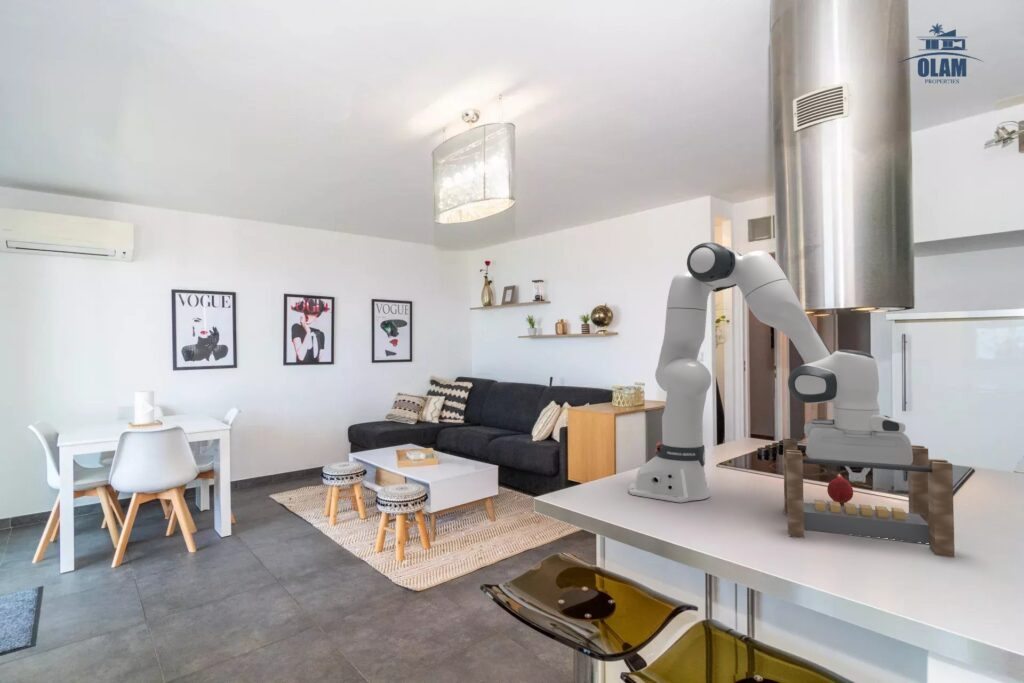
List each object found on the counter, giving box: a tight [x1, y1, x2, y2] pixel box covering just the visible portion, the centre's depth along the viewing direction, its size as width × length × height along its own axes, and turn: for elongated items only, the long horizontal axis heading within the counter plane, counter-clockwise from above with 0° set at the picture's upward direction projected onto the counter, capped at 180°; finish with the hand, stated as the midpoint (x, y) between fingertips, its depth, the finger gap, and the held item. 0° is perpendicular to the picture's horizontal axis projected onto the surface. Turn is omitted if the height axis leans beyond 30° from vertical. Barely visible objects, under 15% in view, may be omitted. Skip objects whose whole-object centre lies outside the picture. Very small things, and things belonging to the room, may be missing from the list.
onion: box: [826, 473, 854, 506], centre depth 136 cm, size 6×6×8 cm
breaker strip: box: [804, 499, 930, 545], centre depth 118 cm, size 24×8×6 cm, turn 65°
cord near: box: [803, 457, 932, 473], centre depth 110 cm, size 28×1×1 cm, turn 65°
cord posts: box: [782, 437, 955, 558], centre depth 118 cm, size 29×20×18 cm
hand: (857, 481), depth 118 cm, fingers closed
